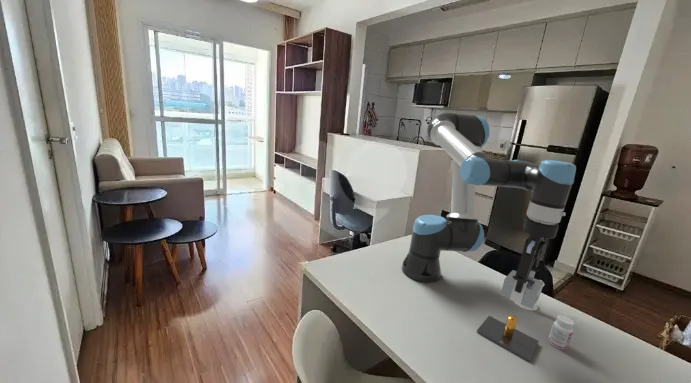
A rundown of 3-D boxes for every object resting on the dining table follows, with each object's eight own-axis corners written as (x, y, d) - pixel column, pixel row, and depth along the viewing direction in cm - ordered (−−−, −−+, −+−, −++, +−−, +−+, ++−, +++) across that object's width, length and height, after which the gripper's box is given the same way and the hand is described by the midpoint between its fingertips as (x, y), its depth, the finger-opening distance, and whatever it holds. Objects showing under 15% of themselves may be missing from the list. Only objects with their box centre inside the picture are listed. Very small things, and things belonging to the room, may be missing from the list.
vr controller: (561, 300, 100) (551, 291, 97) (530, 319, 104) (520, 311, 101) (546, 283, 106) (536, 275, 104) (518, 302, 110) (508, 294, 108)
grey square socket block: (500, 294, 82) (504, 278, 81) (508, 284, 88) (512, 269, 87) (532, 309, 77) (537, 292, 76) (539, 297, 83) (544, 282, 82)
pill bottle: (567, 352, 83) (577, 328, 81) (548, 344, 86) (556, 320, 83) (566, 342, 87) (575, 318, 85) (547, 335, 90) (555, 311, 87)
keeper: (476, 332, 88) (482, 312, 86) (488, 318, 95) (493, 299, 93) (529, 362, 78) (536, 340, 77) (537, 343, 86) (544, 323, 84)
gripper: (551, 233, 67) (524, 318, 73) (566, 217, 82) (543, 288, 88) (515, 222, 72) (493, 302, 78) (535, 209, 87) (515, 277, 93)
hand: (519, 295), depth 83 cm, fingers closed on grey square socket block, 8 cm apart
